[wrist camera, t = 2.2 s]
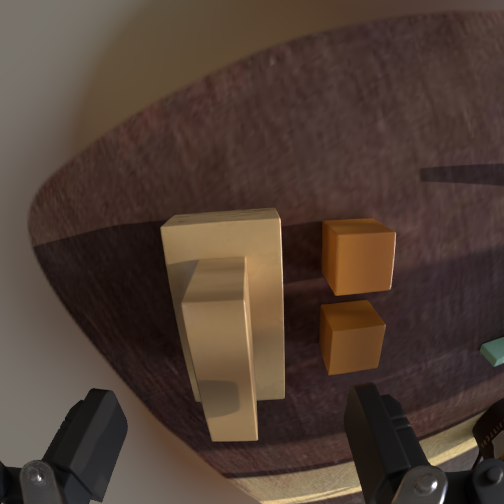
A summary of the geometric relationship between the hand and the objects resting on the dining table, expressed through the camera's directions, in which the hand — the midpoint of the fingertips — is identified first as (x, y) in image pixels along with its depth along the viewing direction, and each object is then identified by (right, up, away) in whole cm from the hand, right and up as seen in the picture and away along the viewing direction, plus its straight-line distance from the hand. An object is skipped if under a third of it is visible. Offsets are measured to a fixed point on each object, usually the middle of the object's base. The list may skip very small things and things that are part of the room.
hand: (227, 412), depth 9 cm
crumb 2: (+6, +1, +9) cm, 11 cm away
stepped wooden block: (0, +3, +8) cm, 9 cm away
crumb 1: (+6, +6, +7) cm, 11 cm away
